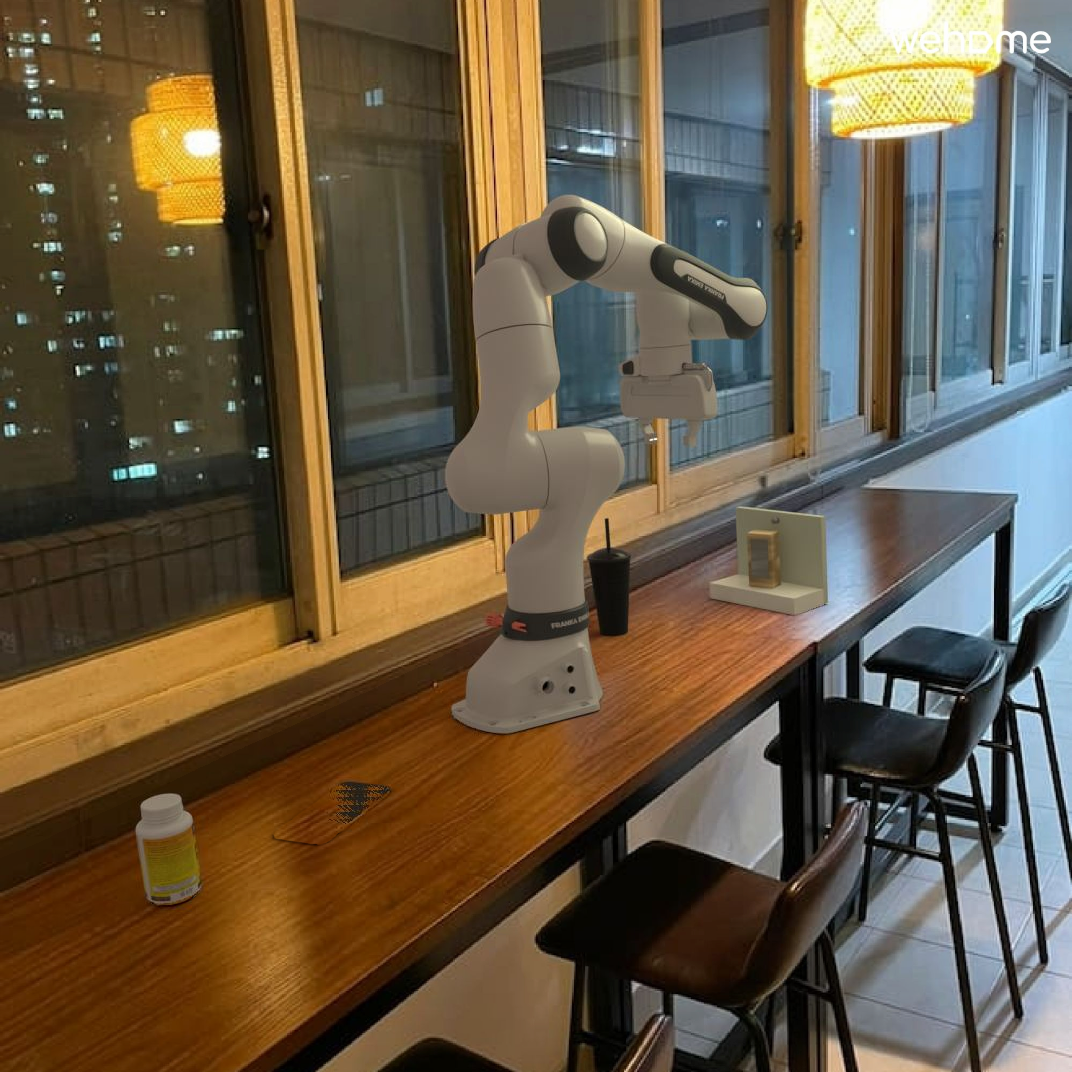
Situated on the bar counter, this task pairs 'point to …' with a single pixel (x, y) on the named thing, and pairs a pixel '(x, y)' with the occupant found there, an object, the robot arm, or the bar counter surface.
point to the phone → (357, 798)
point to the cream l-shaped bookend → (797, 563)
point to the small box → (764, 559)
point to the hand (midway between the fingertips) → (670, 445)
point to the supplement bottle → (167, 850)
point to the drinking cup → (611, 586)
